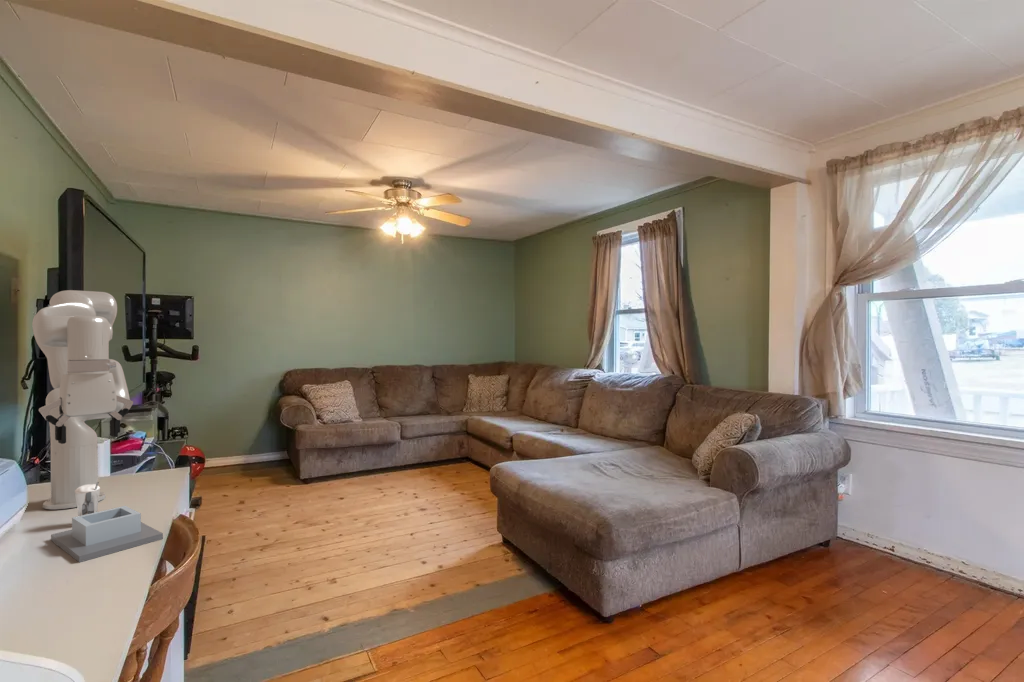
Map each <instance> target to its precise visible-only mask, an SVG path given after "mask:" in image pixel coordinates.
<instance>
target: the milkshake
mask: <svg viewBox="0 0 1024 682" xmlns="http://www.w3.org/2000/svg"><path fill="white" fill-rule="evenodd" d="M99 483H100V481H98V482H97V484H88V485H83V486H80V487H78V488H77V489H76V490H75V497H76V503H77V507H76V509H77V516H82V515H86V514H91V513H95V512H98V510H99V501H98V500H99V493H100V492H101V487H100V486H99Z"/></svg>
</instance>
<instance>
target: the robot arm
mask: <svg viewBox="0 0 1024 682" xmlns="http://www.w3.org/2000/svg"><path fill="white" fill-rule="evenodd" d="M117 303H118V302H117V300H116V299H115V297H114V296H113V295H112V294H110V293H109V292H106V291H92V290H79V289H78V290H75V289H74V290H73V289H69V290H67V289H66V290H61V291H58V292H56V293H54V294H53V295H52V296H51V297H50V300H49V305H48V306H46V307H43V308H41V309H40V310H38V311H37V313H36V314H35V315H34V316H33V319H32V331H33V336H34V339H35V342H36V344H37V345H38V347H39V349H40V350H41V351H42V353H43V354H44V355H45V358H46V360H47V366H48V373H49V374H48V375H49V381H50V385H51V387H52V388H53V389H52V390H51V391H49V392H48V394H47V396H46V398H45V405H44V406H41V407H39V408H38V412H39V413H40V414H41V415H42V417H43V418H44V420H45V421H46V422H48V423H49V424H48V425H49V431H50V434H49V435H50V436H49V437H50V499H47V500H45V501H44V502H42V509H45V510H67V509H72V508H74V509H75V508H77V503H76V497H75V490H76V489H77V488H78V487H80V486H83V485H88V484H97V482H99V473H98V472H99V470H98V469H99V467H98V458H99V457H98V454H99V453H98V444H99V443H98V434H97V432H96V430H94V429H93V428H92V427H90V426H89V425H88V424H87V423H85V422H86V421H91V420H97V419H98V420H99V419H110V420H109V436H111V437H112V438H113V437H114V438H116V437H117V438H118V436H119V434H120V432H121V421H122V419H123V418H124V417H125V416H126V415H127V414H128V413H129V411H130V409H131V408H132V406H133V404H134V400H131V399H130V394H129V388H128V384H127V381H126V375H125V373H124V370H123V366H122V364H120V362H119V361H117V360H115V359H112V358H110V357H109V356H110V355H109V354H110V353H109V350H110V349H109V347H110V346H109V344H110V341H111V340H113V334H114V330H113V327H114V326H113V325H114V323H115V320H116V319H117V318H116V317H117V316H118V315H117V314H118V304H117ZM105 498H106V493H105V492H103V491H100V493H99V500H98V502H100V501H103V500H104V499H105Z"/></svg>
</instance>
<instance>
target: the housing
mask: <svg viewBox="0 0 1024 682" xmlns="http://www.w3.org/2000/svg"><path fill="white" fill-rule="evenodd" d="M141 514H142V513H141V512H139V511H136V510H135V509H133V508H130V507H129V506H127V505H122V506H119V507H118V506H117V507H114V508H110V509H105V510H100V511H97V512H95V513H91V514H86V515H82V516H78V515H77V516H73V517H71V529H68V530H65V531H60V532H56V533H51V534H50V540H51V541H52V542H53V543H54V544H55V545H56V546H58V547H59V548H60V549H61V550H63V551H64V552H66V553H67V554H68V555H69V556H70V557H72V558H73V559H74V560H76V561H77V562H78V563H82V562H85V561H89V560H93V559H96V558H100V557H104V556H107V555H110V554H113V553H117V552H121V551H124V550H128V549H132V548H134V547H139V546H142V545H146V544H149V543H152V542H157V541H159V540H160V541H161V540H163V539H164V534H163V533H164V532H161V531H159V530H157V529H156V528H153V527H151V526H149V525H147V524H146V523H143V522H142V518H141V517H142V515H141Z"/></svg>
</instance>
